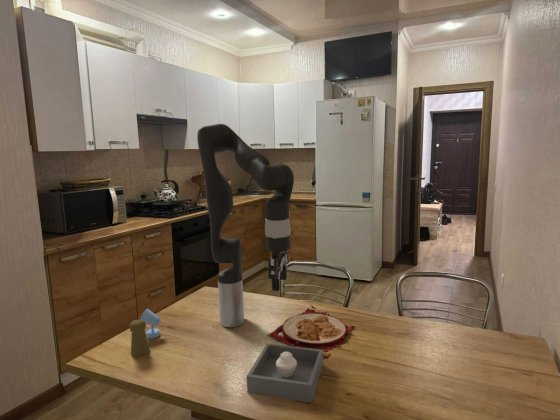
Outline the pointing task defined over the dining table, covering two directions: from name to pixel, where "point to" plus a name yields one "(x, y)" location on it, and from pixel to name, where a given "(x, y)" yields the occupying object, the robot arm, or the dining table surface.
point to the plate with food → (313, 331)
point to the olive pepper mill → (139, 338)
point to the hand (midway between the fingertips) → (279, 284)
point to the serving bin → (273, 384)
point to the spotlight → (153, 320)
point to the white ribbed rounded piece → (286, 364)
